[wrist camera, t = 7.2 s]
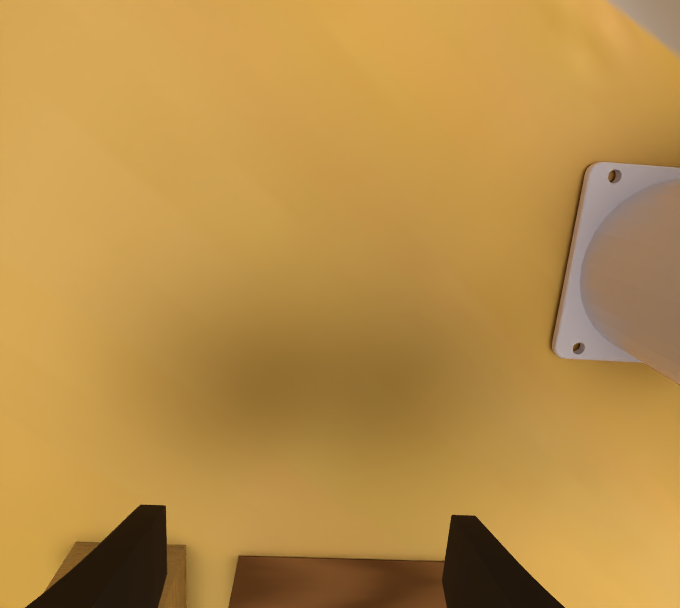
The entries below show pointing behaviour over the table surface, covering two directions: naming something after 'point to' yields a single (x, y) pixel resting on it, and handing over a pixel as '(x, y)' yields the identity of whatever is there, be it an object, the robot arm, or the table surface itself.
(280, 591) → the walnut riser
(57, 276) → the table surface
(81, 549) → the steel cube
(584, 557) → the table surface
